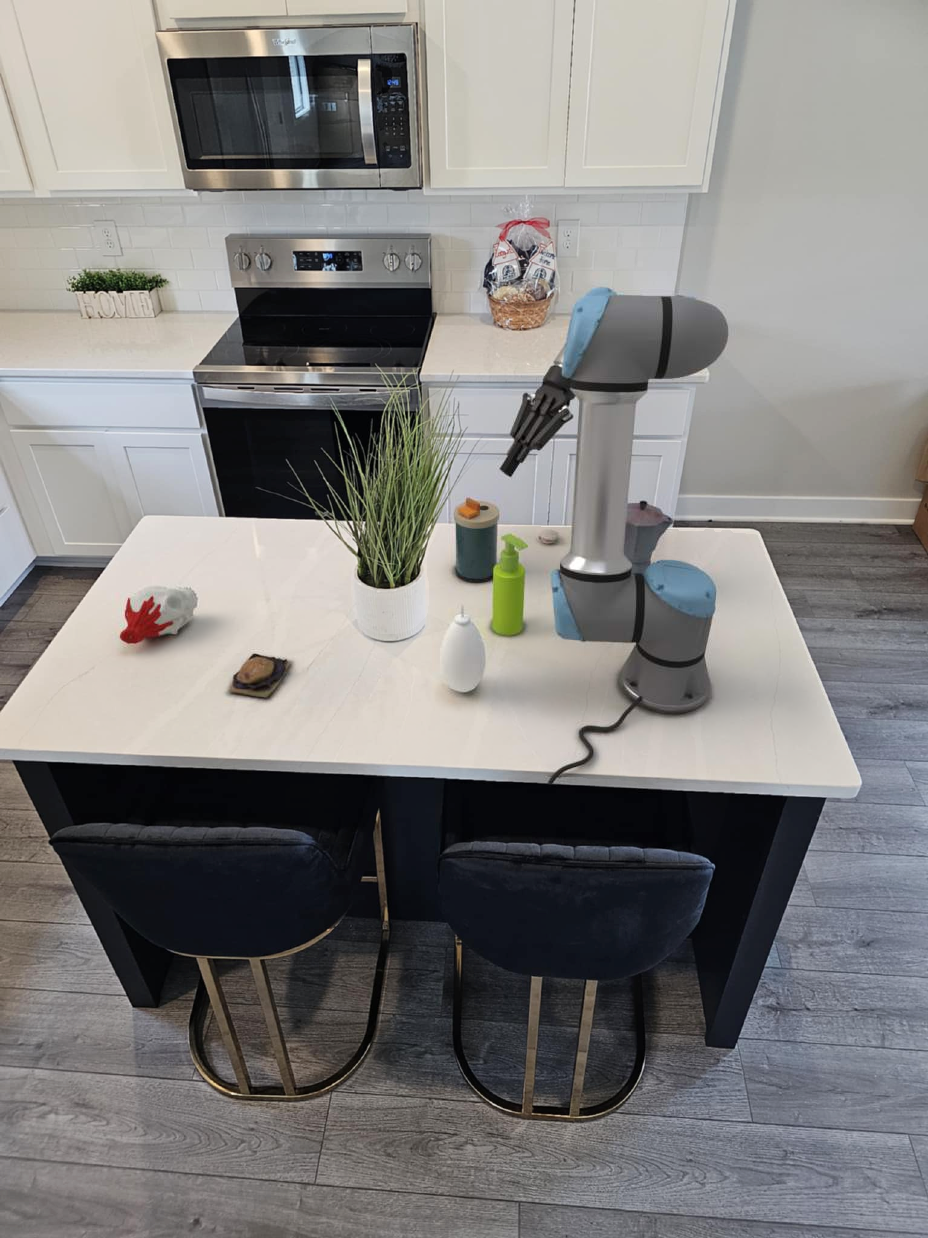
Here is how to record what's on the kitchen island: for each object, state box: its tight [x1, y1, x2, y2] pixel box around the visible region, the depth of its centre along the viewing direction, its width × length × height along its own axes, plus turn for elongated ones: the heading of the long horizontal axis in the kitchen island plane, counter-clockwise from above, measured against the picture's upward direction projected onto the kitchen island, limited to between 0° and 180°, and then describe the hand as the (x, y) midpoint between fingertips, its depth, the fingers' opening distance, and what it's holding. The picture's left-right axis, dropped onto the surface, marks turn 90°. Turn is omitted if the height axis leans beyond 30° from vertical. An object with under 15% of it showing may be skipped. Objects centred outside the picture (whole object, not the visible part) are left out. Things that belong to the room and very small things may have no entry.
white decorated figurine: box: [119, 585, 199, 644], centre depth 161 cm, size 9×11×15 cm
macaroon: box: [538, 529, 559, 544], centre depth 191 cm, size 4×5×2 cm
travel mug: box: [453, 500, 500, 584], centre depth 177 cm, size 9×9×14 cm
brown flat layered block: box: [229, 652, 291, 699], centre depth 151 cm, size 11×8×4 cm
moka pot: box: [623, 500, 675, 573], centre depth 170 cm, size 10×15×20 cm, turn 78°
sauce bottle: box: [439, 603, 486, 693], centre depth 144 cm, size 8×8×18 cm
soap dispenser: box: [491, 533, 529, 637], centre depth 158 cm, size 6×7×20 cm
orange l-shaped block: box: [458, 497, 480, 518], centre depth 170 cm, size 3×4×2 cm
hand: (505, 473), depth 173 cm, fingers closed
